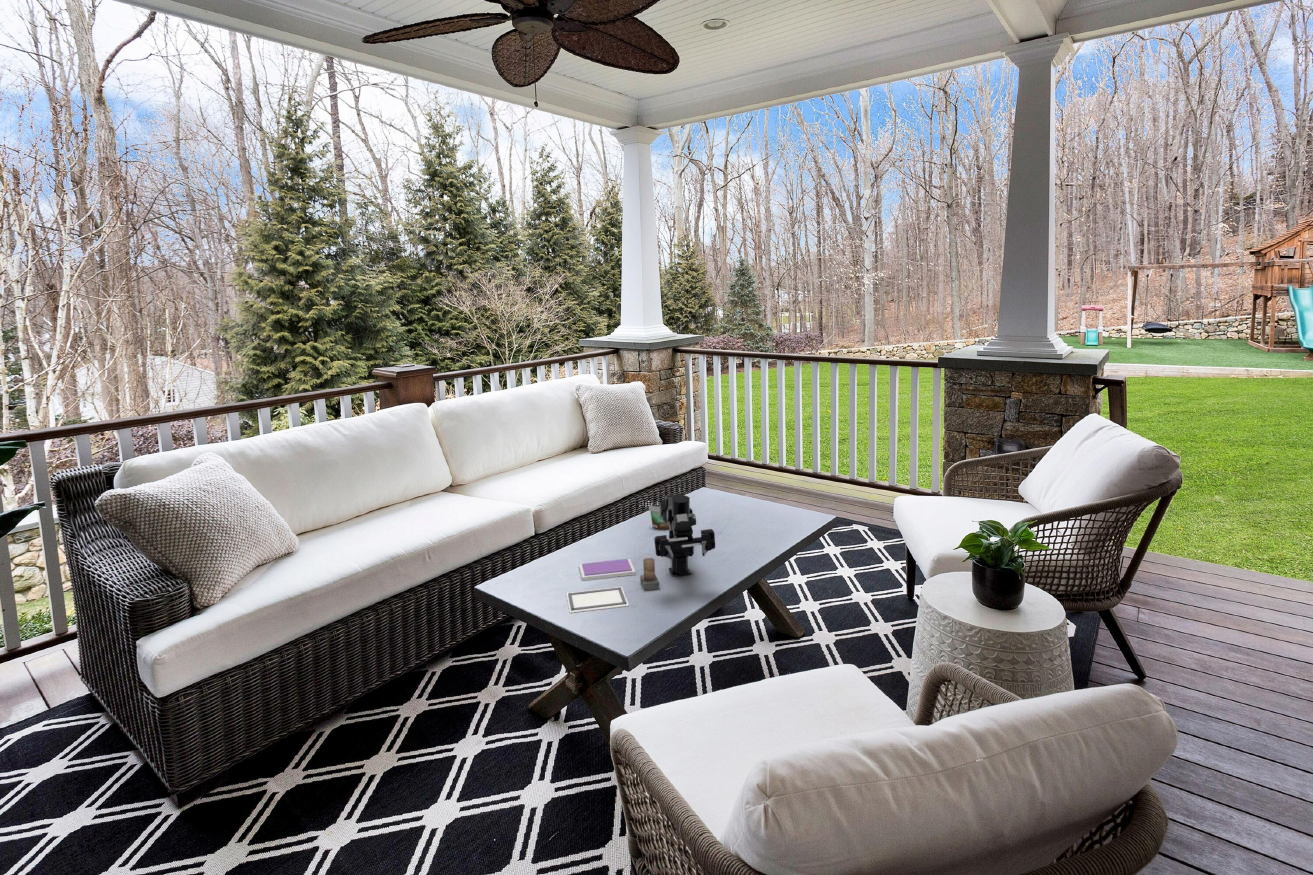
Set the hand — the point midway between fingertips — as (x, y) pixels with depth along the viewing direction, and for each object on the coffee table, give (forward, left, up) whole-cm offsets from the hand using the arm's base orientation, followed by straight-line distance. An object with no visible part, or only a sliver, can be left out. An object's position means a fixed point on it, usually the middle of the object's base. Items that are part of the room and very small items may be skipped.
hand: (688, 556), depth 207 cm
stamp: (-17, -9, -16) cm, 25 cm away
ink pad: (-33, -21, -15) cm, 42 cm away
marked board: (-11, -27, -15) cm, 33 cm away
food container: (-70, +8, -16) cm, 72 cm away
